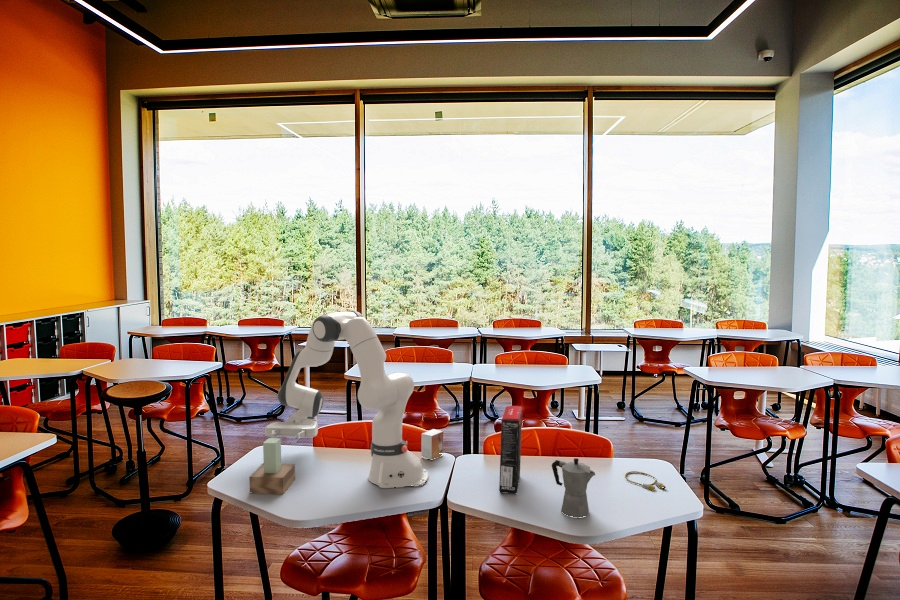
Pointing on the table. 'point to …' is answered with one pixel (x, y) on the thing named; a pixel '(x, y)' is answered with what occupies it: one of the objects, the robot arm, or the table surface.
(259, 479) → the walnut block
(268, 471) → the sage block
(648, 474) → the extension cord
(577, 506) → the coffeepot
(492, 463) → the table surface
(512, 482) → the graphics card box
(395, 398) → the robot arm
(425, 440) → the small box
